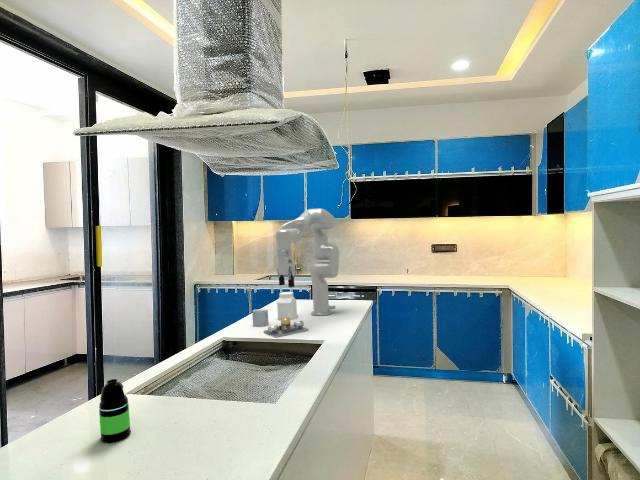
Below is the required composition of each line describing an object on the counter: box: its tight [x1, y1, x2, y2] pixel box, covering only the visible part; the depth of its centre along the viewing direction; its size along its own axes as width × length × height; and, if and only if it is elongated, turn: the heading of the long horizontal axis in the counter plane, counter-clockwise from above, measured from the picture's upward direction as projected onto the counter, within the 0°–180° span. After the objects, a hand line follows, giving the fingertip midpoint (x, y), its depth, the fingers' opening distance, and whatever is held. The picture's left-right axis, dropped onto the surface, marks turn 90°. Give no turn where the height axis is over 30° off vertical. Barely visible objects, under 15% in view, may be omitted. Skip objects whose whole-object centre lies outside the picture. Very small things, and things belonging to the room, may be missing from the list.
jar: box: [276, 291, 298, 321], centre depth 247 cm, size 12×10×15 cm
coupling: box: [280, 317, 292, 331], centre depth 214 cm, size 5×5×6 cm
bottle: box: [98, 378, 132, 444], centre depth 110 cm, size 7×7×15 cm
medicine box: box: [251, 308, 270, 327], centre depth 231 cm, size 8×4×9 cm, turn 84°
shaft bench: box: [263, 320, 309, 338], centre depth 214 cm, size 19×13×4 cm
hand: (286, 285), depth 218 cm, fingers open, 9 cm apart
